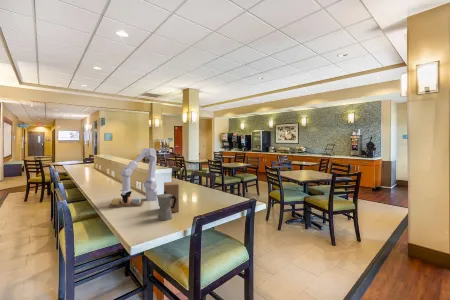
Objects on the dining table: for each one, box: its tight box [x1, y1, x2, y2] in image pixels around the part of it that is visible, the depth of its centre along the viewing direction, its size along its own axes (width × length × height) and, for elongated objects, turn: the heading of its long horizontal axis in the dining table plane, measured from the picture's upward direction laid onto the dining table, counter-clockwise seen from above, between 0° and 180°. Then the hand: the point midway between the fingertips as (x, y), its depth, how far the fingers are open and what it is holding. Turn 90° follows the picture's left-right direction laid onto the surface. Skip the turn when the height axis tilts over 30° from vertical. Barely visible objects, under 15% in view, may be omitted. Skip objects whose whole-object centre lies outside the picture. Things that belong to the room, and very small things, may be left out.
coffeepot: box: [156, 190, 177, 222], centre depth 145 cm, size 15×9×18 cm, turn 69°
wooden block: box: [163, 181, 180, 214], centre depth 161 cm, size 10×10×20 cm
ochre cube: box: [111, 197, 122, 205], centre depth 170 cm, size 5×5×5 cm
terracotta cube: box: [121, 196, 132, 204], centre depth 171 cm, size 5×5×5 cm
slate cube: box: [131, 197, 142, 204], centre depth 173 cm, size 5×5×5 cm
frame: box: [108, 200, 144, 209], centre depth 172 cm, size 23×8×3 cm, turn 98°
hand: (126, 201), depth 172 cm, fingers closed on terracotta cube, 5 cm apart
